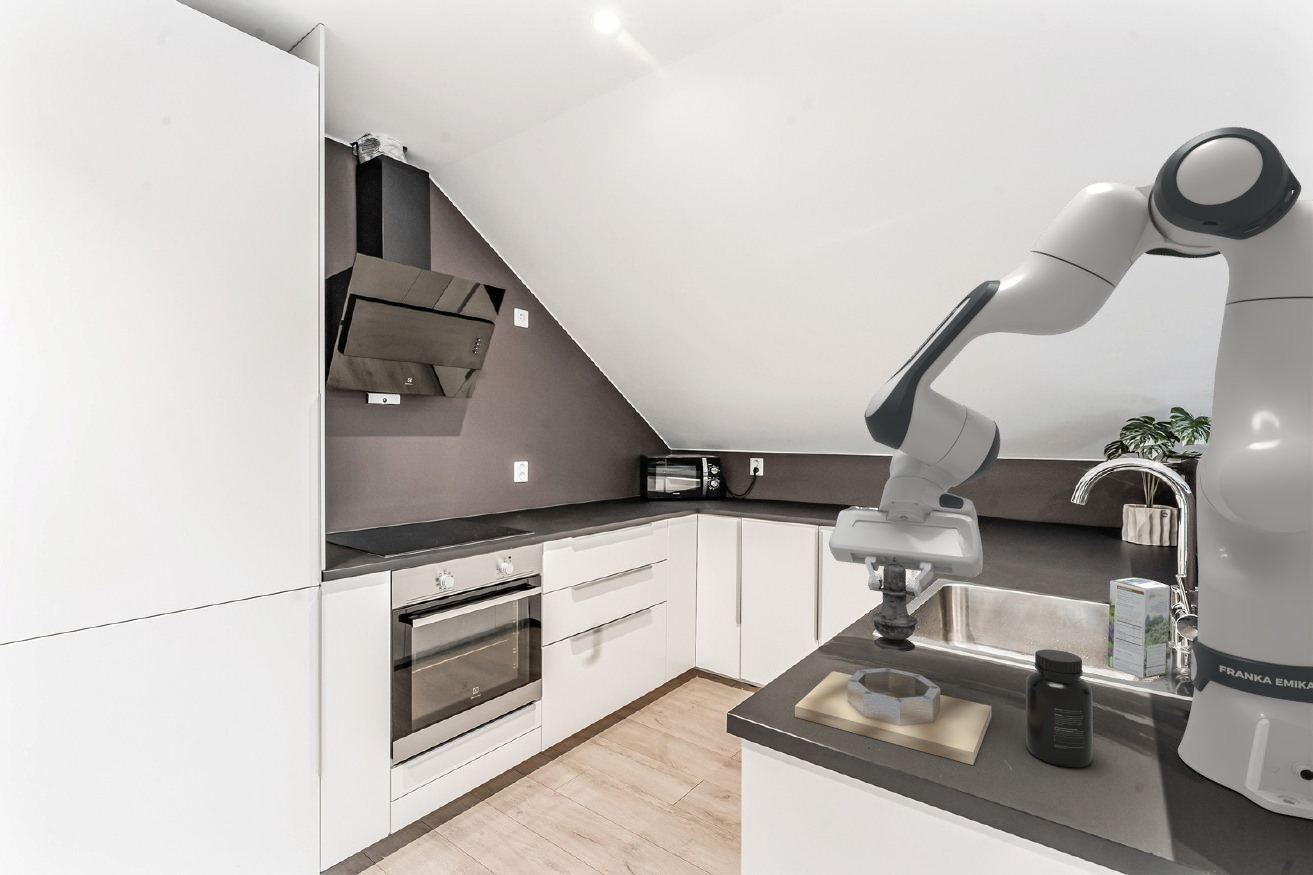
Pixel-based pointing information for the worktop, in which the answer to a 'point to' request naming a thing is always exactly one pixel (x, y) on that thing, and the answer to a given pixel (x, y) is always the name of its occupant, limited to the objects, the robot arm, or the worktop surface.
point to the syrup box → (1138, 627)
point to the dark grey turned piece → (894, 612)
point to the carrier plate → (946, 737)
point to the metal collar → (890, 709)
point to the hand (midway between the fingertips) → (893, 591)
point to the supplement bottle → (1059, 710)
